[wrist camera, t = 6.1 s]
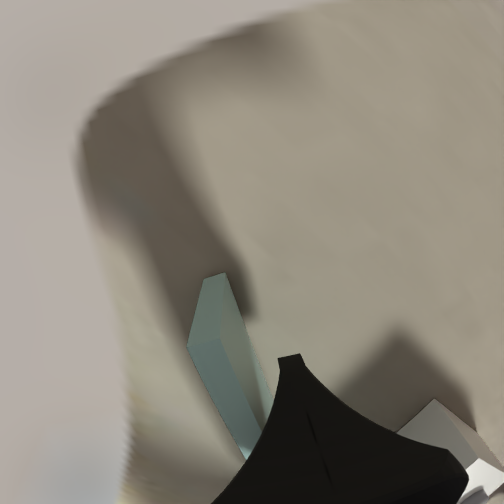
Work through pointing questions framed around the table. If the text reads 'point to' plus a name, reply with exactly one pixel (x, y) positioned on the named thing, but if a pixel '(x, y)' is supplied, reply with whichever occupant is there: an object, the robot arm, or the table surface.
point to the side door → (229, 363)
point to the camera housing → (458, 449)
